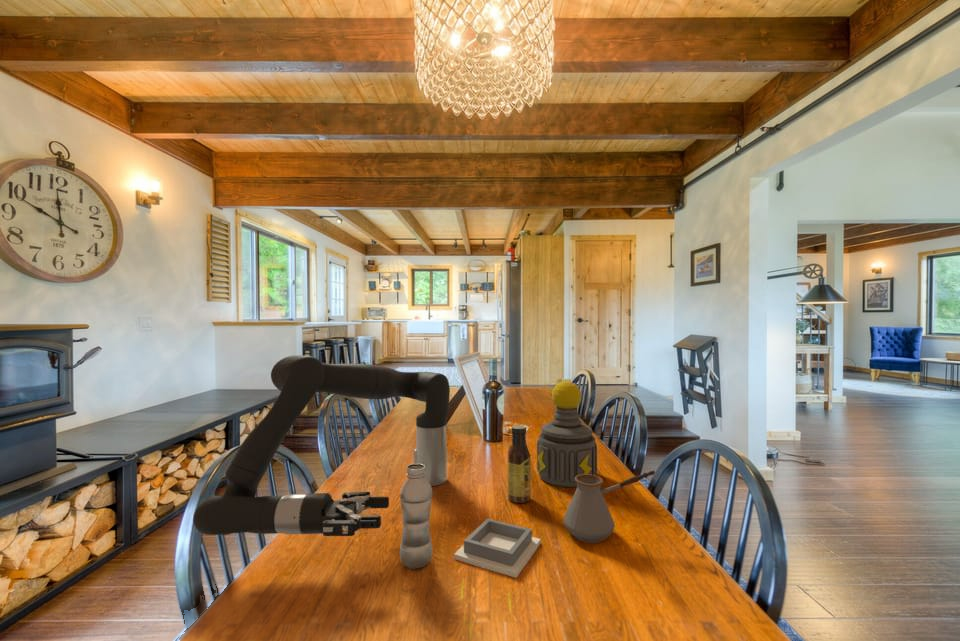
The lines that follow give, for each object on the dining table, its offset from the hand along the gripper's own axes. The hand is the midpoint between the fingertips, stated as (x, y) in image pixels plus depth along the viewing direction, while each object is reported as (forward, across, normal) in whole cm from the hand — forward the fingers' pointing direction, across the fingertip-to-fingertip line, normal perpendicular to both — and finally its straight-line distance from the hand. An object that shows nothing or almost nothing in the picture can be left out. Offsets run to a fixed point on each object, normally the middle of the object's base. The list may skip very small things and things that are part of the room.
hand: (384, 511), depth 87 cm
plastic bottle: (+6, 0, +11) cm, 13 cm away
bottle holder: (+24, +4, +11) cm, 26 cm away
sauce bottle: (+31, +29, +11) cm, 44 cm away
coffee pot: (+50, +10, +11) cm, 52 cm away
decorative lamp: (+48, +45, +11) cm, 67 cm away
